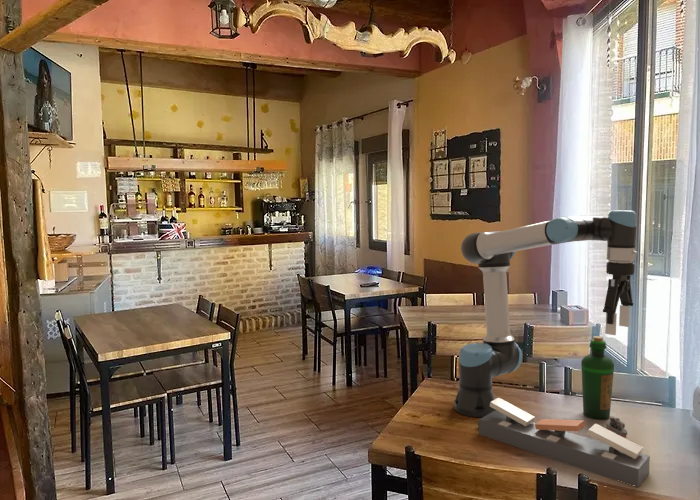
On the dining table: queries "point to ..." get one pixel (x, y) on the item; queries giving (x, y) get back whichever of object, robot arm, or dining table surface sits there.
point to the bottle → (597, 380)
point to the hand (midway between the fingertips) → (617, 330)
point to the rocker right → (615, 441)
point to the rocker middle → (560, 425)
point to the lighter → (616, 426)
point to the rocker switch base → (566, 448)
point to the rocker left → (512, 411)
